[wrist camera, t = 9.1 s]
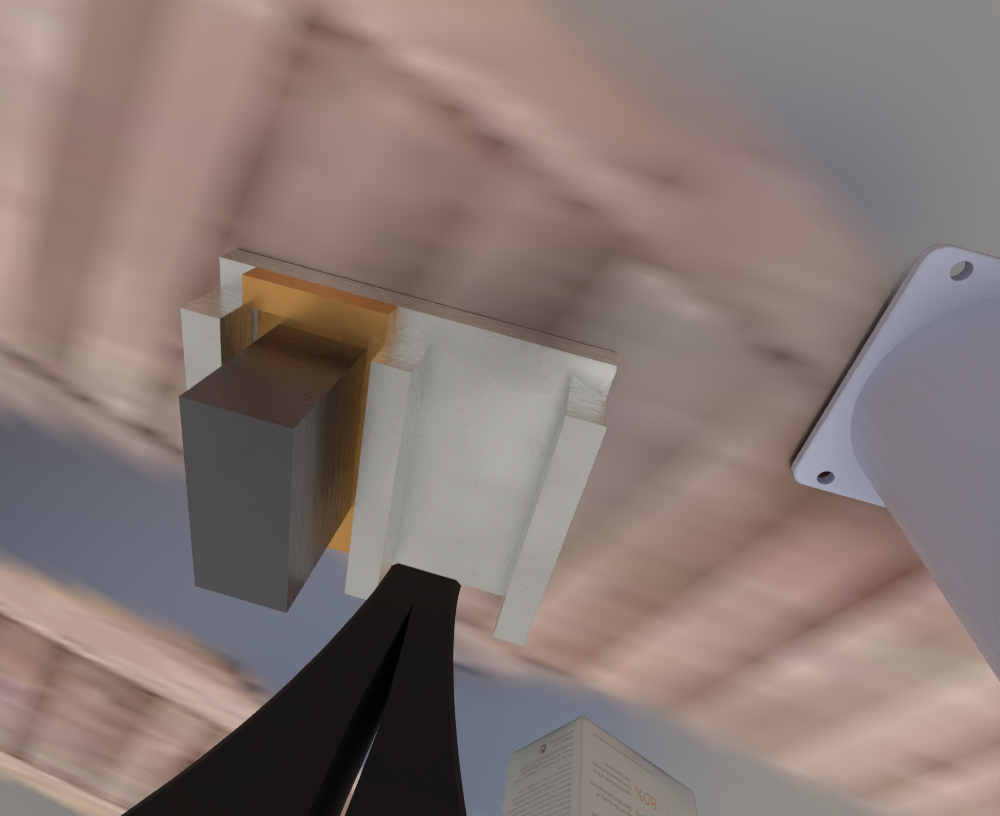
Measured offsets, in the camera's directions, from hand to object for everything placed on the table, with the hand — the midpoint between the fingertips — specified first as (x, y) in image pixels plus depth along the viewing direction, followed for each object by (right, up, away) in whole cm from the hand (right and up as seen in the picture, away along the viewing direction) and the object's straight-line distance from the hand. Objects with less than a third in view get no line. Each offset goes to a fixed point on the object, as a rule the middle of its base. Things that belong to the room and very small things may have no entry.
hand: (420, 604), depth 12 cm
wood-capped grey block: (-5, +3, +9) cm, 11 cm away
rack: (-2, +3, +10) cm, 10 cm away
